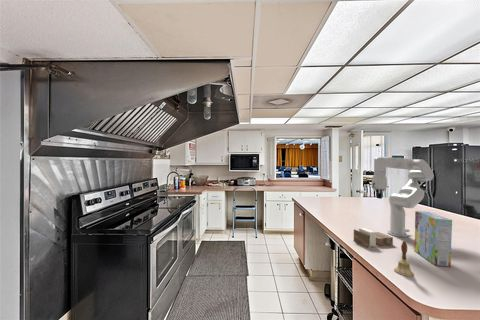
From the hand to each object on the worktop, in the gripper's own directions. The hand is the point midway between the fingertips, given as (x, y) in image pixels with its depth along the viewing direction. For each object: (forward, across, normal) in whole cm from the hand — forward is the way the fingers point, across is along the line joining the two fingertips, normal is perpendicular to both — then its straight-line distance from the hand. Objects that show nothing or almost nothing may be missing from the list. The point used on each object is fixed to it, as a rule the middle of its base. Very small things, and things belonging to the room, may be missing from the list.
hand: (379, 198), depth 173 cm
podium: (+29, +14, +9) cm, 33 cm away
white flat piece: (+29, +8, -9) cm, 32 cm away
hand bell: (+29, +32, +48) cm, 65 cm away
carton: (+24, +17, +10) cm, 31 cm away
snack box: (+29, 0, +38) cm, 48 cm away
